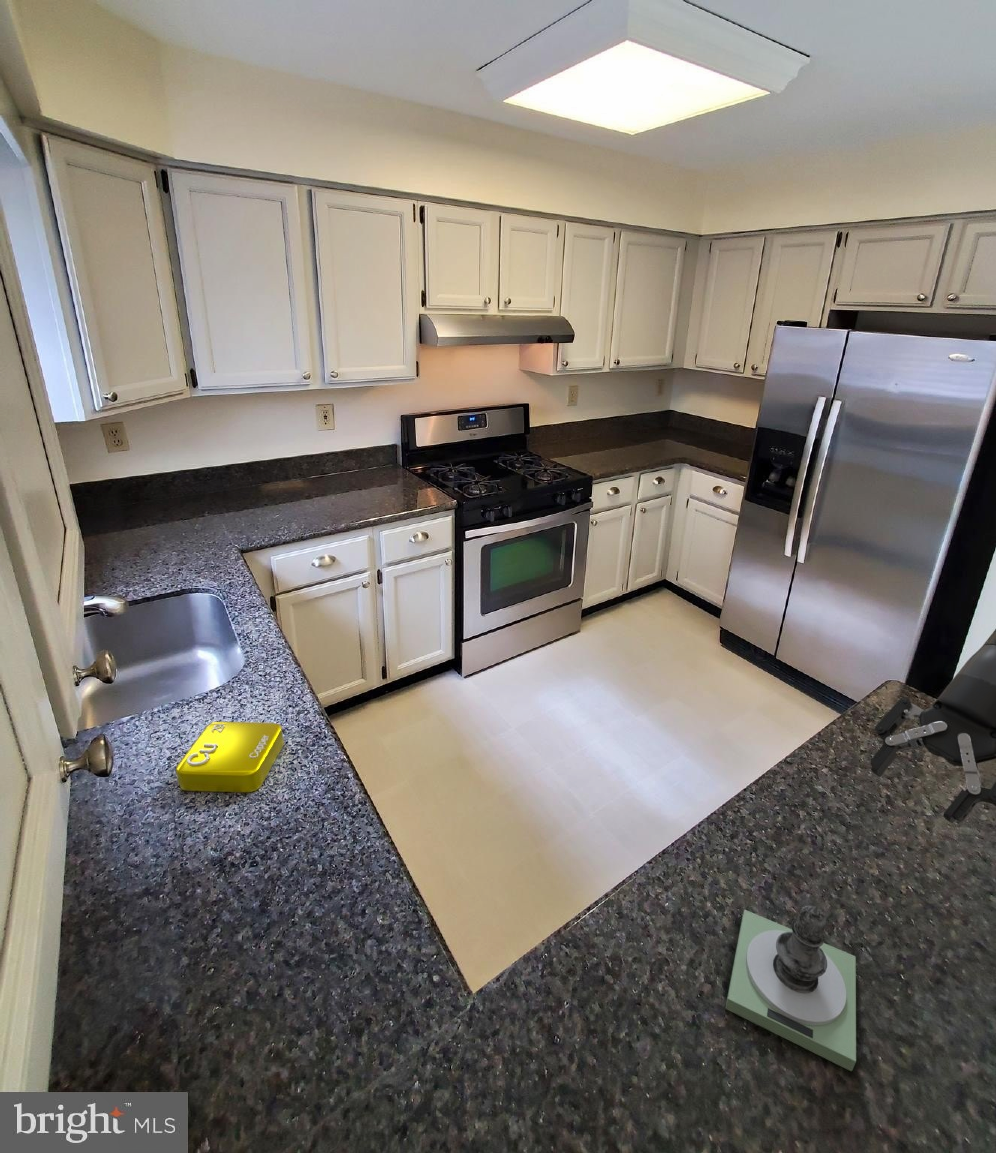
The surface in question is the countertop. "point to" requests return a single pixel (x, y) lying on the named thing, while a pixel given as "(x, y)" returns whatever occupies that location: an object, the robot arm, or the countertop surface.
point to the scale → (795, 994)
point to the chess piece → (802, 952)
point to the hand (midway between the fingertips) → (909, 795)
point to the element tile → (230, 757)
